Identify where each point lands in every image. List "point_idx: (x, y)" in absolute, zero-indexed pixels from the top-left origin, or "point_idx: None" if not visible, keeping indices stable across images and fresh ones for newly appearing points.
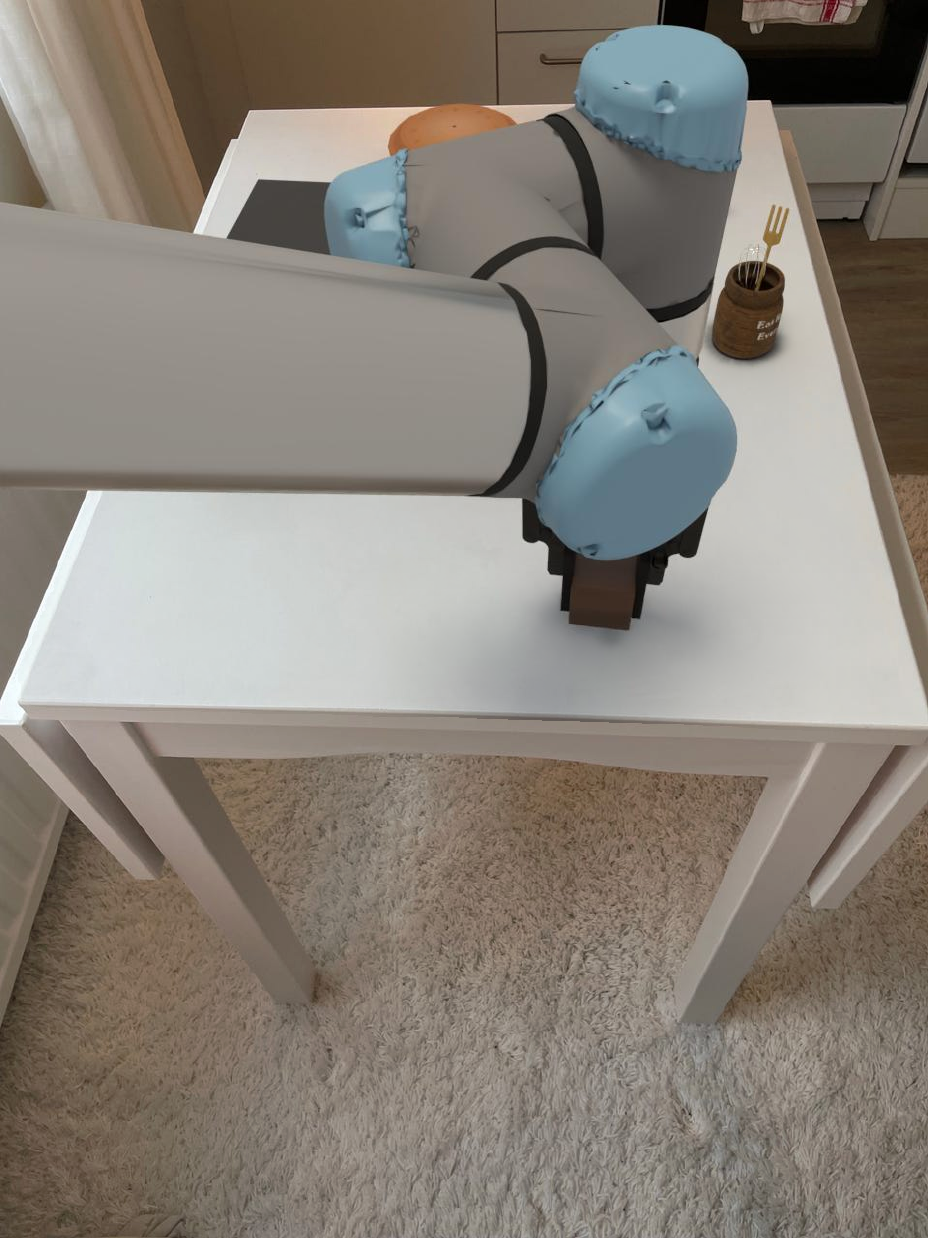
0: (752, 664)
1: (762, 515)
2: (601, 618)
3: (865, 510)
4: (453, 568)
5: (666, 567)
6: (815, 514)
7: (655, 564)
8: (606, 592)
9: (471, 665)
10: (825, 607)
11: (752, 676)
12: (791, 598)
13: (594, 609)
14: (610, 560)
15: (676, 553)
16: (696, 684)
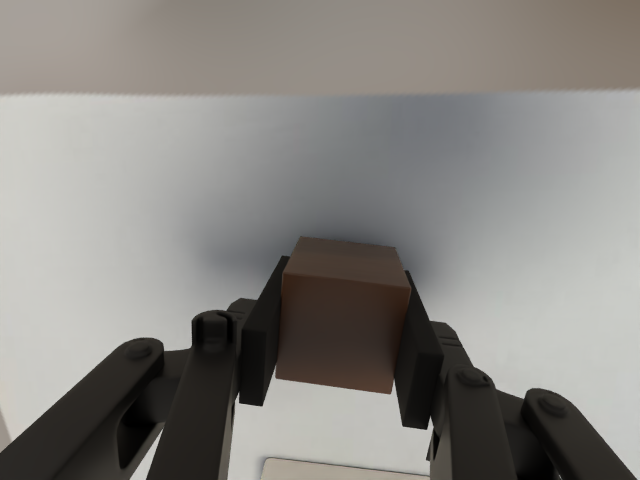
0: (124, 189)
1: None
2: (344, 249)
3: (7, 424)
4: (562, 353)
5: (199, 314)
6: None
7: (223, 321)
8: (339, 277)
9: (555, 175)
10: (38, 284)
11: (123, 168)
12: (81, 298)
13: (357, 258)
14: (329, 348)
15: (177, 351)
16: (201, 150)
